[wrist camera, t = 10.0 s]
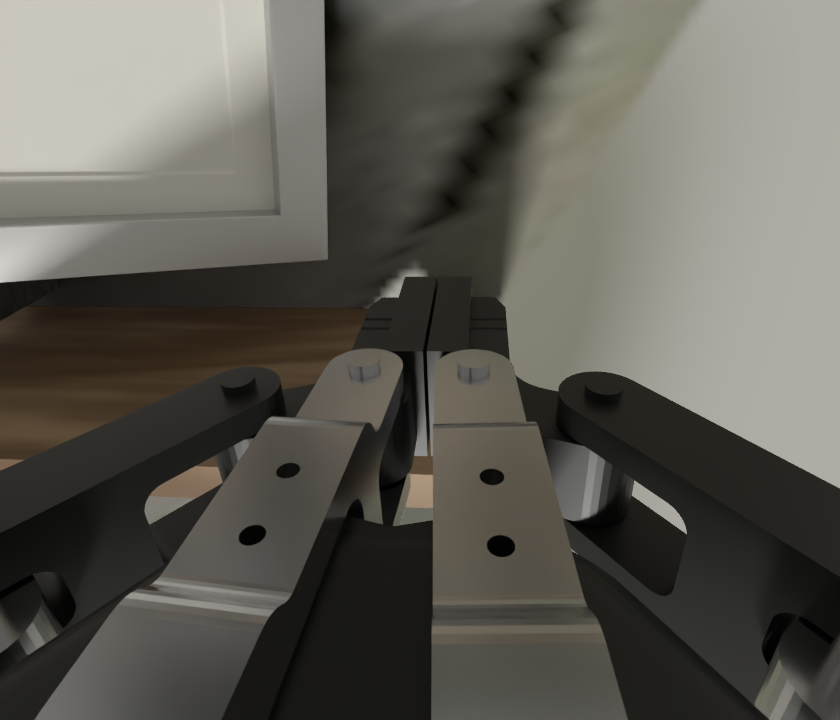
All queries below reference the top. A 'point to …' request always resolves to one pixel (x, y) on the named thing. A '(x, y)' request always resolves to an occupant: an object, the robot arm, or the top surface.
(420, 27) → the top surface
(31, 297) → the bookend
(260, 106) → the picture frame
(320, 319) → the shelf back
